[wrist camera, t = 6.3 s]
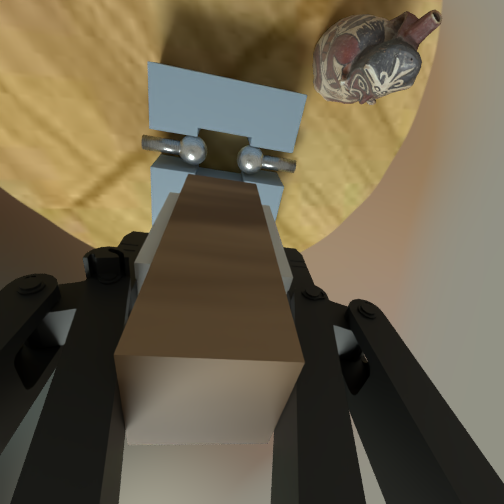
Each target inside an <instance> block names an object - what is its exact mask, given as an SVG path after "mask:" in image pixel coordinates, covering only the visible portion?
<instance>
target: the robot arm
mask: <svg viewBox="0 0 504 504" xmlns="http://www.w3.org/2000/svg"><path fill="white" fill-rule="evenodd" d="M179 195H180V193H173V192H170V193H169V195H168V197H167V199H166V201H165V203H164V205H163V207H162V209H161V210H160V212H159V214H158V216H157V218H156V220H155V222H154V224H153V226H152V228H151V230H150V232H149V233H144V232H135V231H133V232H131V233H129V234H128V235H126V236H124V238H123V239H122V241H121V242H120V244H119V245H118V247H100V248H97V249H93V250H91V251H89V252H88V253H86V254H85V256H84V257H83V262H84V267H85V272H86V277H87V279H86V280H85V281H81V282H76V283H67V284H59V285H58V282H57V279H56V278H54V277H53V276H51V275H47V274H31V275H26V276H23V277H20V278H18V279H15V280H14V281H12V282H11V283H9V284H8V285H6V286H5V287H4V288H3V289H2V290H1V291H0V455H1V453H2V452H3V450H4V448H5V447H6V445H7V444H8V442H9V441H10V439H11V437H12V436H13V434H14V433H15V431H16V430H17V428H18V426H19V425H20V423H21V422H22V420H23V419H24V417H25V415H26V414H27V412H28V411H29V409H30V407H31V406H32V404H33V403H34V401H35V400H36V398H37V397H38V395H39V394H40V392H41V390H42V389H43V387H44V386H45V384H46V382H47V381H48V379H49V378H50V376H51V375H52V373H53V372H54V370H55V368H56V370H55V373H54V377H53V379H52V382H51V385H50V388H49V391H48V394H47V397H46V400H45V403H44V406H43V409H42V412H41V415H40V418H39V421H38V424H37V427H36V429H35V432H34V435H33V438H32V441H31V444H30V447H29V450H28V453H27V456H26V459H25V462H24V465H23V468H22V471H21V474H20V477H19V479H18V483H17V486H16V488H15V491H14V494H13V497H12V500H11V503H10V504H118V503H119V493H120V483H121V471H122V461H123V450H124V439H125V423H124V417H123V411H122V404H121V398H120V392H119V386H118V379H117V373H116V367H115V360H114V353H115V350H116V348H117V345H118V343H119V340H120V338H121V336H122V333H123V331H124V328H125V326H126V323H127V321H128V319H129V316H130V314H131V311H132V309H133V306H134V304H135V302H136V299H137V297H138V294H139V292H140V289H141V287H142V285H143V282H144V280H145V277H146V275H147V272H148V270H149V268H150V265H151V263H152V260H153V258H154V255H155V253H156V251H157V248H158V246H159V243H160V241H161V238H162V236H163V233H164V231H165V229H166V226H167V224H168V221H169V219H170V216H171V214H172V212H173V209H174V207H175V204H176V202H177V199H178V197H179ZM262 207H263V211H264V214H265V218H266V222H267V225H268V229H269V233H270V236H271V240H272V244H273V247H274V251H275V255H276V258H277V262H278V266H279V269H280V273H281V277H282V280H283V284H284V288H285V291H286V295H287V299H288V302H289V306H290V310H291V313H292V317H293V321H294V324H295V328H296V332H297V335H298V339H299V343H300V346H301V350H302V354H303V358H304V361H305V363H304V366H303V368H302V370H301V372H300V374H299V377H298V379H297V381H296V383H295V385H294V388H293V390H292V392H291V394H290V396H289V398H288V401H287V403H286V405H285V407H284V409H283V412H282V414H281V416H280V418H279V420H278V422H277V425H276V427H275V429H274V445H273V466H272V467H273V468H272V487H271V504H366V501H365V495H364V490H363V484H362V479H361V473H360V468H359V463H358V457H357V452H356V446H355V441H354V436H353V430H352V425H351V419H350V414H351V416H352V419H353V421H354V424H355V426H356V429H357V431H358V434H359V436H360V439H361V441H362V444H363V446H364V449H365V451H366V454H367V456H368V459H369V461H370V464H371V466H372V469H373V472H374V474H375V476H376V479H377V481H378V484H379V487H380V489H381V491H382V494H383V496H384V499H385V501H386V504H504V483H503V482H502V480H501V479H500V478H499V476H498V475H497V473H496V472H495V471H494V469H493V468H492V466H491V465H490V463H489V462H488V461H487V459H486V458H485V456H484V455H483V454H482V452H481V451H480V449H479V448H478V446H477V445H476V444H475V442H474V441H473V439H472V438H471V437H470V435H469V434H468V432H467V431H466V429H465V428H464V427H463V425H462V424H461V422H460V421H459V420H458V418H457V417H456V415H455V414H454V412H453V411H452V410H451V408H450V407H449V405H448V404H447V403H446V401H445V400H444V398H443V397H442V396H441V394H440V393H439V391H438V390H437V389H436V387H435V386H434V384H433V383H432V381H431V380H430V378H429V377H428V376H427V374H426V373H425V372H424V370H423V369H422V367H421V366H420V364H419V363H418V362H417V360H416V359H415V357H414V356H413V355H412V353H411V352H410V350H409V349H408V347H407V346H406V345H405V343H404V342H403V341H402V339H401V337H400V336H399V335H398V333H397V332H396V330H395V329H394V327H393V326H392V325H391V323H390V322H389V320H388V319H387V318H386V316H385V315H384V314H383V312H382V311H381V310H380V309H379V308H378V307H377V306H376V305H374V304H373V303H371V302H368V301H366V300H361V299H355V300H352V301H351V302H350V303H349V305H348V307H347V306H344V305H341V304H338V303H335V302H332V301H330V300H329V299H328V296H327V294H326V293H325V292H324V291H323V290H322V289H321V288H319V287H317V286H315V285H314V283H313V280H312V278H311V275H310V273H309V271H308V268H307V266H306V264H305V261H304V259H303V256H302V255H301V254H300V253H299V252H298V251H297V250H296V249H293V248H285V247H283V245H282V242H281V239H280V236H279V233H278V230H277V227H276V224H275V221H274V218H273V215H272V212H271V209H270V206H268V205H262ZM364 355H365V356H364ZM365 357H366V358H367V360H366V358H365ZM349 411H350V414H349Z"/></svg>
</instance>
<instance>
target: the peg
mask: <svg viewBox="0 0 504 504" xmlns="http://www.w3.org/2000/svg"><path fill="white" fill-rule="evenodd" d="M114 360H115V367H116V373H117V379H118V386H119V392H120V398H121V404H122V411H123V417H124V423H125V430H126V436H127V442H128V445H173V444H174V445H180V444H181V445H182V444H268V442H269V440H270V438H271V435H272V433H273V431H274V429H275V427H276V425H277V422H278V420H279V418H280V416H281V414H282V412H283V409H284V407H285V405H286V403H287V401H288V398H289V396H290V394H291V392H292V390H293V388H294V385H295V383H296V381H297V379H298V377H299V374H300V372H301V370H302V368H303V366H304V363H305V361H304V358H303V354H302V350H301V346H300V343H299V339H298V335H297V332H296V328H295V324H294V321H293V317H292V313H291V310H290V306H289V302H288V299H287V295H286V291H285V288H284V284H283V280H282V277H281V273H280V269H279V266H278V262H277V258H276V255H275V251H274V247H273V244H272V240H271V236H270V233H269V229H268V225H267V222H266V218H265V214H264V211H263V207H262V203H261V200H260V196H259V192H258V189H257V185H256V184H254V183H248V182H241V181H234V180H227V179H221V178H214V177H207V176H201V175H194V174H188V175H187V178H186V180H185V182H184V185H183V187H182V190H181V192H180V195H179V197H178V199H177V202H176V204H175V207H174V209H173V212H172V214H171V216H170V219H169V221H168V224H167V226H166V229H165V231H164V233H163V236H162V238H161V241H160V243H159V246H158V248H157V251H156V253H155V255H154V258H153V260H152V263H151V265H150V268H149V270H148V272H147V275H146V277H145V280H144V282H143V285H142V287H141V289H140V292H139V294H138V297H137V299H136V302H135V304H134V306H133V309H132V311H131V314H130V316H129V319H128V321H127V323H126V326H125V328H124V331H123V333H122V336H121V338H120V340H119V343H118V345H117V348H116V350H115V353H114Z"/></svg>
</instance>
